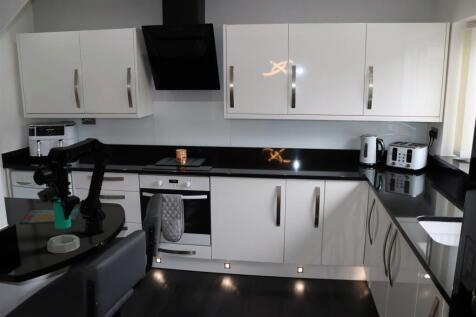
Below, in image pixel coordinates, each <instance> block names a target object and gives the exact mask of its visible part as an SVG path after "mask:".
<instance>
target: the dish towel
mask: <svg viewBox="0 0 476 317" xmlns="http://www.w3.org/2000/svg"><path fill="white" fill-rule="evenodd" d="M79 214H80V209H79V208H78V207H77V208H74V209H73V210H72V213H71V223H73V222H76V219H77V217H78V215H79ZM20 224H21V225H36V224H38V225H39V224H40V225H41V224H55V222H54V209H41V210H39V209H37V210H34V209H33V210H30V211H29V212H28V213H27V214H26V216H25V217H24V218H23V219H22V220H21V223H20Z"/></svg>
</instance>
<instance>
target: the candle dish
mask: <svg viewBox="0 0 476 317" xmlns="http://www.w3.org/2000/svg"><path fill="white" fill-rule="evenodd" d="M46 246H47V250H46V251H48V252H49V253H51V254H52V253H53V254H65V253H70V252H74V251H75V250H77V249H79V248H80V246H81V245H80V237H78V236H76V235H74V234H60V235H56V236H54V237H51V238H50V239H49V240H48V241H46Z"/></svg>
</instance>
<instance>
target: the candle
mask: <svg viewBox="0 0 476 317" xmlns="http://www.w3.org/2000/svg"><path fill="white" fill-rule="evenodd" d="M53 204H54V207H53V210H54V222H55V223H54V228H55V229H57V230H65V229H69V228H70V227H71V226H72V222H71V215H70V217H69V219H68V220H65V217H64V212H63V208H62V207H61V206H60V204H61V203H60V200H57V201H54V202H53ZM53 204H52V205H53Z"/></svg>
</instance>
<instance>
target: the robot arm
mask: <svg viewBox="0 0 476 317" xmlns="http://www.w3.org/2000/svg"><path fill="white" fill-rule="evenodd" d="M87 151H89V152H90V153H91V154H92V155H91V159H92V160H93V161H92V162H93V171H92V175H91V179H90V183H89V189H88V193H87V197H85V198H84V199H81V198H80V197H79V196H77V195H74V194H72V191H70V185H71V186H72V182H71V181H69V180H70V179H69V168H71V167H73V165H72V164H71V163H70V162H71V161H72V160H73V159H74V157H75V156H77V155H80V154H82V153H85V152H87ZM113 156H114V150H113V148H112V147H111V146H109V145H108V144H106V143H103V142H102V141H100V140H99V139H98V138H95V137H88V138H85V139H83V140H80V141H78V142H77V141H76V142H75V143H73V144H70V145H68V146H67V145H66V146H55V147H51V148H50V149H49V150H48V153H47V155H46V157H45V159H44V162H43V163H42V165H41V166H37V167H36V170H35V171H34V172H33V175H32V179H33V181H34V183H35V184H36V185H37V186H43V185H47V184H49V186H48V187H46V188H45V187H44V188H43V189H41V190H40V191H37V193H36V194H37V197H38V199H39V200H40V202H43V203H47V202H50V203H51V204H52V207H53V208H54V204H53V202H54V201H57V200H60V203H61V204H60V206H61V207H62V208H63V212H64V217H65V220H68V219H69V217H70V215H71V213H72V210H73V209H75V207H76V205H80V206H79V208H78V210H80V211H79V214H80V215H81V218H82V220H85V223H84V231H83V232H84V233H85V234H88V235H89V236H91V237H92V236H96V235H98V234H99V235H100V234H103V233H105V230H104V228H103V221H104V220H106V216H107V215H106V212H104V210H102V206H103V205H102V202H101V199H100V198H101V192H102V191H101V190H102V187H103V183H104V177H105V173H106V168H107V166H109V165H108V164H110V163H111V162H112V159H113Z"/></svg>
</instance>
